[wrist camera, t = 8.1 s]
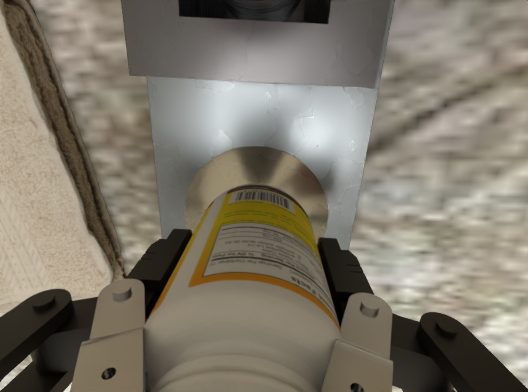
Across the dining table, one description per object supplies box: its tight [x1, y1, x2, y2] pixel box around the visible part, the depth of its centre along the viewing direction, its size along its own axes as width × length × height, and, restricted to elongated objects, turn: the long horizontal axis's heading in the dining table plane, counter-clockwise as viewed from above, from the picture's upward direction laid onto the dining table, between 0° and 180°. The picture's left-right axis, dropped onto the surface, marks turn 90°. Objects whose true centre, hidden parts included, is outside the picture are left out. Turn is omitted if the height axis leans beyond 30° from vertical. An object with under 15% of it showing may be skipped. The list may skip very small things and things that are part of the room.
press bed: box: [121, 0, 395, 250], centre depth 12 cm, size 18×11×8 cm, turn 177°
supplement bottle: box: [144, 184, 343, 392], centre depth 10 cm, size 6×6×10 cm
